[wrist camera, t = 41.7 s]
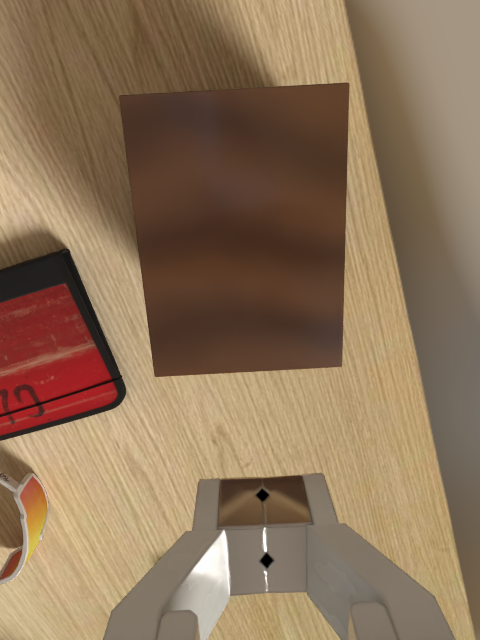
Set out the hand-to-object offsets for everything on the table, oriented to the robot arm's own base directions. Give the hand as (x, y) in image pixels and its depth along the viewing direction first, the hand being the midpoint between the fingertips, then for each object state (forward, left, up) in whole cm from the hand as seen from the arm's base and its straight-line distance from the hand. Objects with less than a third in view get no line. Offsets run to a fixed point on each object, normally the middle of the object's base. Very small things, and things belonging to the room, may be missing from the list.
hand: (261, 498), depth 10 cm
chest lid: (0, -4, -16) cm, 16 cm away
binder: (+24, +7, -30) cm, 38 cm away
